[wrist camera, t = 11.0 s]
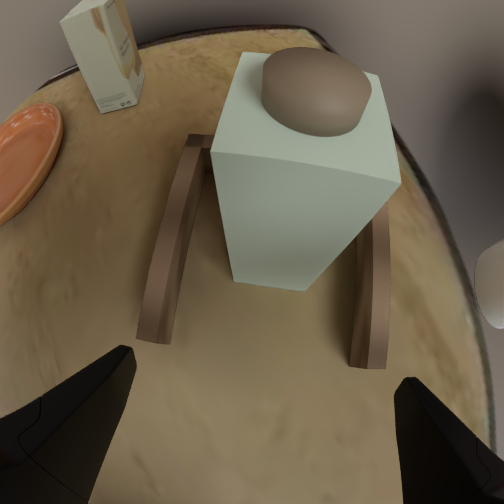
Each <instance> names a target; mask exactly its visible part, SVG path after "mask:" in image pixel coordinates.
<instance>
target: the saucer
mask: <svg viewBox="0 0 504 504" xmlns="http://www.w3.org/2000/svg"><path fill="white" fill-rule="evenodd" d="M62 135H63V120H62V116H61V114H60V111H59V110H58V108H57V107H56V106H54V105H52V104H50V103H39V104H35V105H32V106H29V107H27V108H25V109H23V110H21V111H19V112H18V113H16V114H15V115H13V116H12V117H11V118H9V119H8V120H7V121H6V122H5V123H3V124H2V125H1V126H0V225H2V224H4V223H5V222H7V221H8V220H9V219H11V218H12V217H14V216H15V215H16V214H17V213H18V212H20V211H21V210H22V209H23V208H24V207H25V206H26V205H27V204H28V203H29V201H30V200H31V199H32V198H33V197H34V195H35V194H36V193H37V191H38V190H39V188H40V187H41V185H42V184H43V182H44V181H45V179H46V177H47V175H48V173H49V172H50V170H51V167H52V165H53V163H54V160H55V157H56V155H57V152H58V150H59V146H60V143H61V139H62Z"/></svg>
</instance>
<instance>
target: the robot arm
mask: <svg viewBox="0 0 504 504" xmlns="http://www.w3.org/2000/svg"><path fill="white" fill-rule="evenodd" d="M136 368H137V364H136V359H135V355H134V351H133V349H132V347H129V346H125V345H119V346H117V347H116V348H114V349H113V350H111V351H110V352H108V353H107V354H105V355H104V356H102V357H100V358H99V359H97V360H96V361H94V362H93V363H91V364H90V365H88V366H87V367H85V368H83V369H82V370H80V371H79V372H77V373H76V374H74V375H73V376H71V377H70V378H68V379H66V380H65V381H63V382H62V383H60V384H59V385H57V386H56V387H54V388H52V389H51V390H49V391H48V392H46V393H45V394H43V395H42V397H41V396H40V397H38V398H37V399H35V400H34V401H32V402H30V403H29V404H27V405H25V406H24V407H22V408H20V409H18V410H16V411H14V412H13V413H11V414H9V415H6V416H4V417H2V418H0V504H88V501H89V499H90V496H91V493H92V490H93V487H94V485H95V482H96V479H97V476H98V474H99V471H100V468H101V466H102V463H103V461H104V458H105V455H106V453H107V450H108V448H109V445H110V443H111V440H112V438H113V435H114V433H115V431H116V428H117V426H118V423H119V421H120V419H121V416H122V414H123V411H124V409H125V406H126V403H127V399H128V396H129V392H130V389H131V385H132V382H133V379H134V376H135V372H136ZM394 407H395V426H396V438H397V446H398V453H399V461H400V470H401V480H402V492H403V504H504V461H503V460H501V459H500V458H499V457H498V456H497V455H496V454H495V453H493V452H492V451H491V450H490V449H489V448H488V447H487V446H486V445H485V444H484V443H483V442H482V441H481V440H480V439H479V438H478V437H476V435H475V434H474V433H473V432H472V431H471V430H470V429H469V428H468V427H467V426H466V425H465V424H464V423H463V422H462V421H461V420H460V419H459V418H458V417H457V416H456V415H455V414H454V413H453V412H452V411H451V410H450V409H449V408H448V407H446V406H445V405H444V404H443V403H442V402H441V401H440V400H439V399H438V398H437V397H436V396H435V395H434V394H433V393H432V392H431V391H430V390H429V389H428V388H427V387H426V386H425V385H424V384H423V383H422V382H421V381H420V380H419V379H418V378H416V377H406V378H404V379H403V381H402V382H401V384H400V385H399V387H398V388H397V390H396V391H395V394H394Z"/></svg>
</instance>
